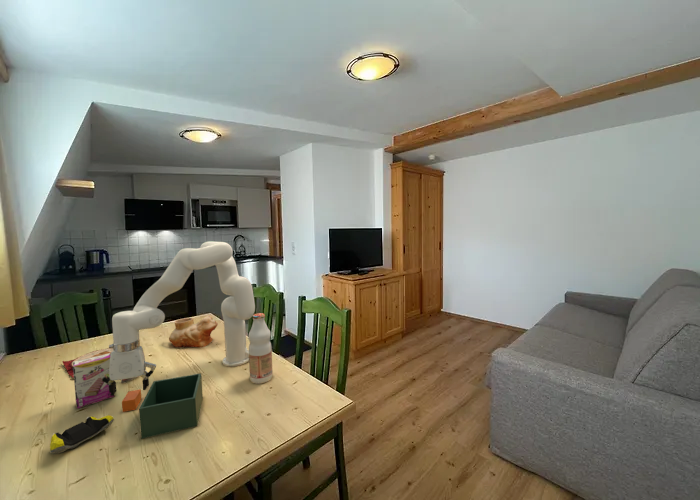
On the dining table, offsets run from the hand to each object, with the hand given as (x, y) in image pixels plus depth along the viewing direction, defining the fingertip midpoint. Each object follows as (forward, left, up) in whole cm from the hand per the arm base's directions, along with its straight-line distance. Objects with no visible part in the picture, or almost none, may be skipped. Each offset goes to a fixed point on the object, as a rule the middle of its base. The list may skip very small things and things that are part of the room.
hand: (129, 391), depth 109 cm
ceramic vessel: (-14, -56, -6) cm, 58 cm away
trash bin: (-16, +13, -6) cm, 21 cm away
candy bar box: (+14, -9, -6) cm, 18 cm away
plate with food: (+25, -48, -6) cm, 55 cm away
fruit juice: (-46, -2, -6) cm, 47 cm away
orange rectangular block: (0, 0, -6) cm, 6 cm away
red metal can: (+7, -24, -6) cm, 26 cm away
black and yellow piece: (+9, +16, -6) cm, 19 cm away
